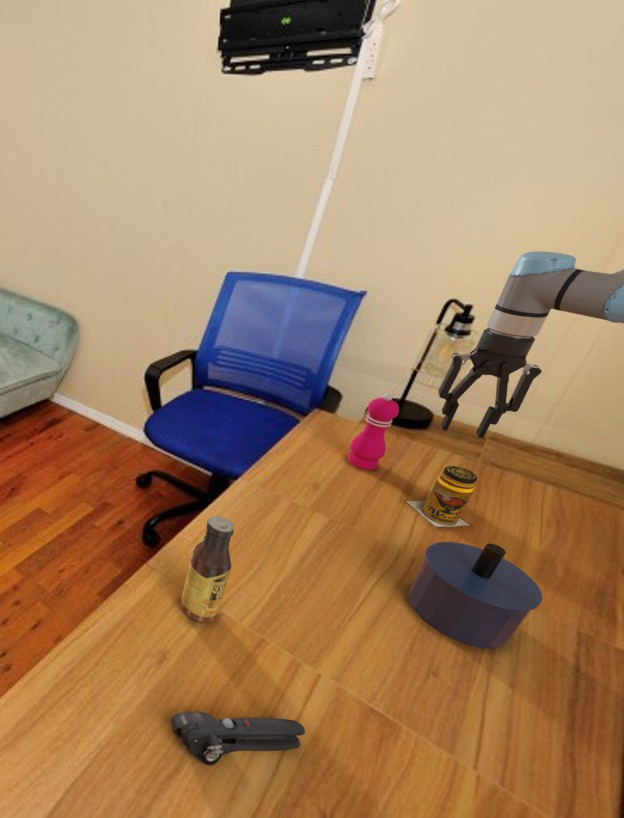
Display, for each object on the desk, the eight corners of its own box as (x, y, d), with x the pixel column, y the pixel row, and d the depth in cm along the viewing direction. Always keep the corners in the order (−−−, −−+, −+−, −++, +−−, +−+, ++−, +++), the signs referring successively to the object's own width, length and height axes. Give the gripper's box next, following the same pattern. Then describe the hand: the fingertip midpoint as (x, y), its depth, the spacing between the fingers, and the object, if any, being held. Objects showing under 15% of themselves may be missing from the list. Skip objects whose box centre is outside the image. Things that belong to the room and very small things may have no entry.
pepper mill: (374, 474, 125) (403, 404, 116) (341, 462, 130) (366, 393, 120) (382, 463, 129) (411, 394, 120) (350, 451, 134) (375, 384, 125)
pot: (505, 608, 90) (531, 569, 85) (512, 664, 80) (542, 624, 76) (409, 572, 97) (429, 534, 93) (406, 619, 88) (427, 580, 84)
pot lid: (533, 571, 86) (552, 542, 83) (545, 631, 76) (567, 600, 73) (424, 534, 94) (438, 507, 91) (422, 583, 84) (438, 554, 81)
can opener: (182, 772, 68) (189, 749, 65) (165, 719, 74) (171, 695, 71) (314, 770, 68) (326, 747, 65) (286, 717, 74) (296, 693, 71)
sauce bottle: (209, 631, 87) (233, 545, 78) (174, 611, 90) (193, 526, 81) (222, 607, 91) (247, 523, 82) (189, 589, 95) (208, 506, 86)
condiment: (436, 527, 108) (459, 482, 103) (405, 502, 116) (425, 458, 110) (469, 526, 108) (494, 481, 103) (436, 500, 116) (457, 457, 110)
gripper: (569, 334, 99) (513, 435, 109) (448, 319, 108) (408, 413, 118) (581, 347, 93) (522, 451, 104) (453, 329, 102) (410, 427, 113)
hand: (461, 431), depth 111 cm, fingers open, 5 cm apart
